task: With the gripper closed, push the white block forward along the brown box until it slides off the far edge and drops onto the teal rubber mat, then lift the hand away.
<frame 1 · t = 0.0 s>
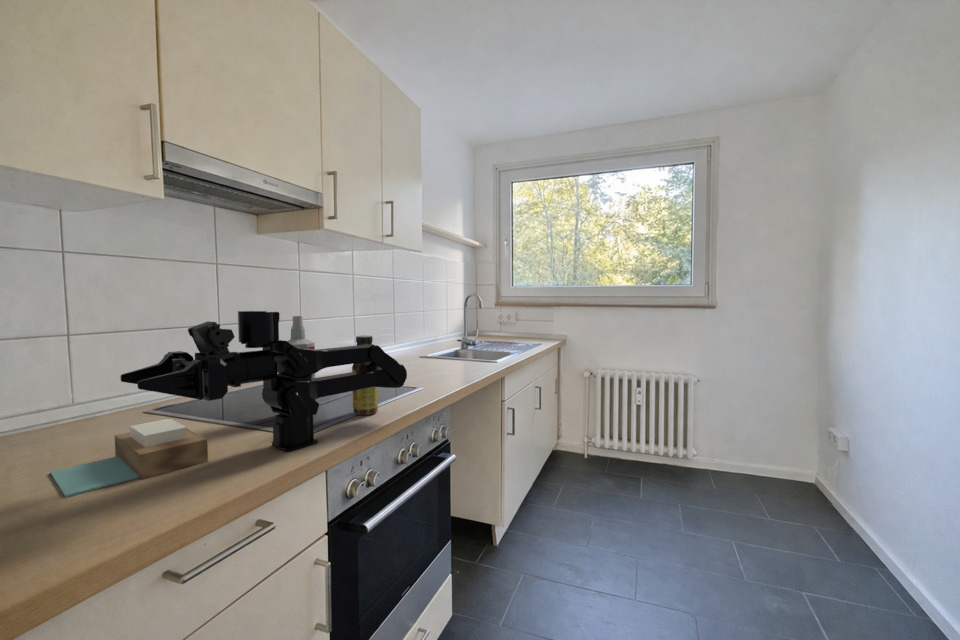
hand: (128, 381, 62), 17 cm above the worktop, tool horizontal, fingers open, 9 cm apart
spray bottle: (299, 415, 104), on the worktop
sauce bottle: (365, 413, 106), on the worktop
white block: (158, 437, 74), point 4 cm above the worktop, touching brown box
mat: (96, 475, 68), on the worktop
brown box: (161, 458, 75), on the worktop
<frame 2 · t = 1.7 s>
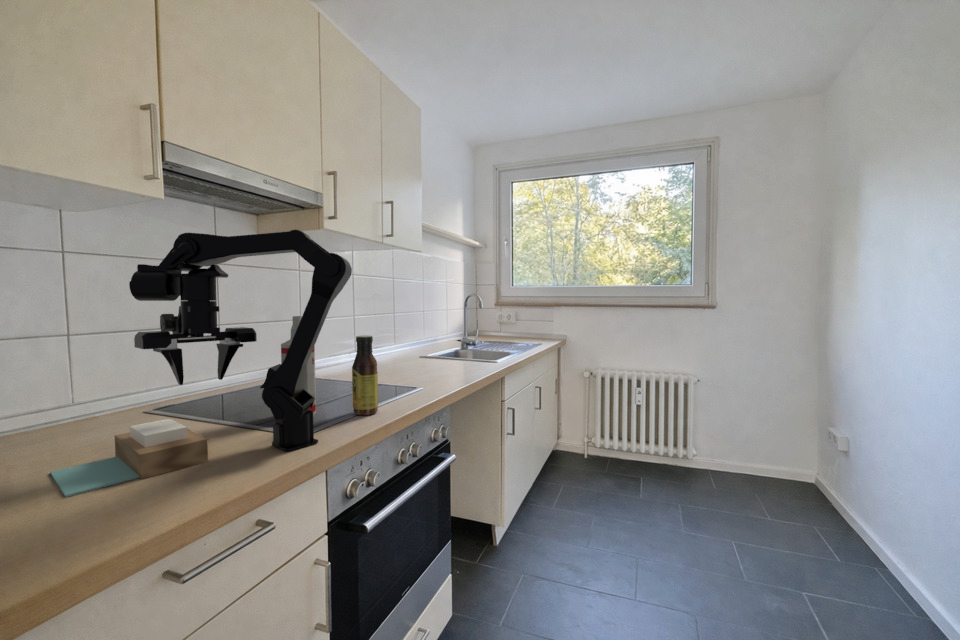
hand: (201, 381, 80), 13 cm above the worktop, tool pointing down, fingers open, 6 cm apart
nothing on the worktop moved.
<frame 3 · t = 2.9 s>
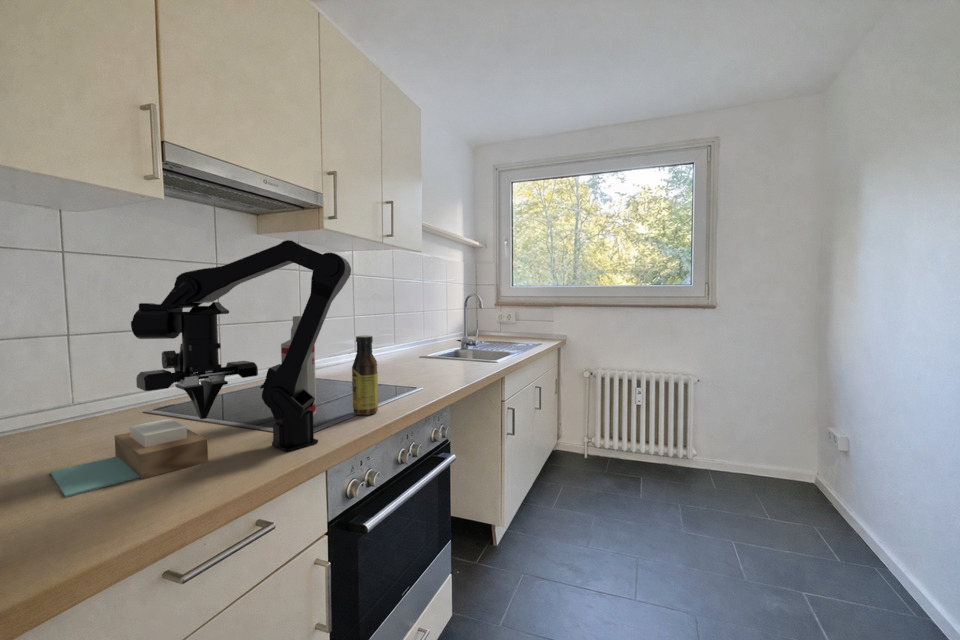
hand: (203, 418, 80), 6 cm above the worktop, tool pointing down, fingers closed
nothing on the worktop moved.
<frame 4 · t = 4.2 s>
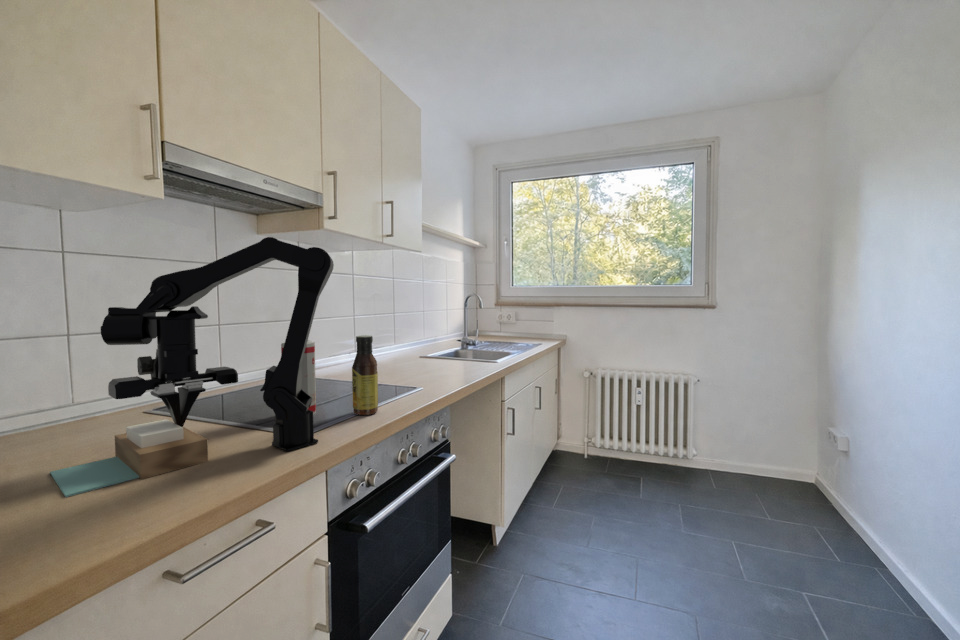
hand: (179, 427, 77), 5 cm above the worktop, tool pointing down, fingers closed
white block: (155, 438, 74), point 4 cm above the worktop, touching gripper
everything else where it was.
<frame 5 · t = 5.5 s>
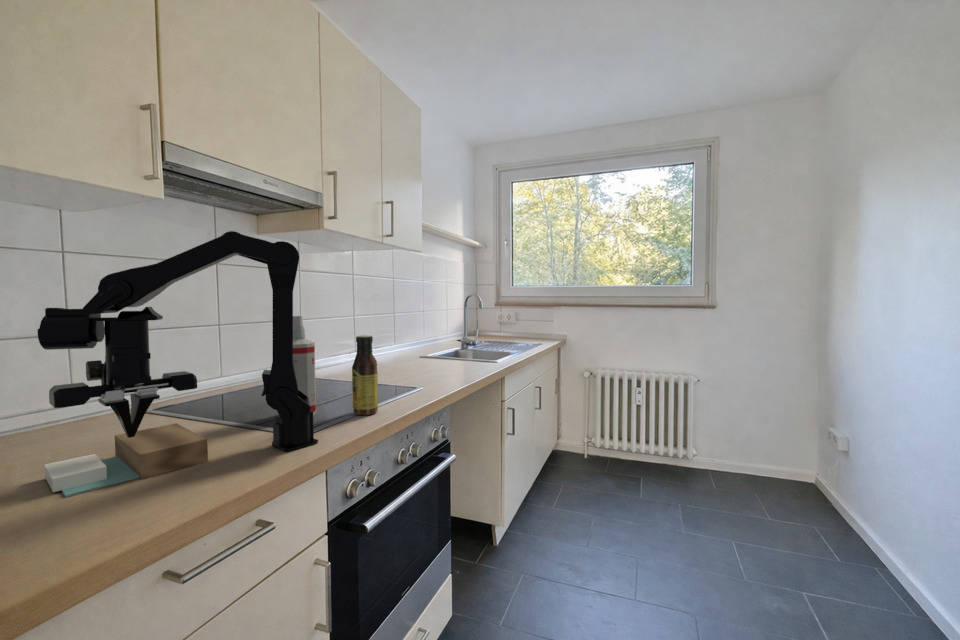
hand: (130, 436, 71), 5 cm above the worktop, tool pointing down, fingers closed
white block: (75, 465, 66), point 2 cm above the worktop, tilted 180°, touching mat
everything else where it was.
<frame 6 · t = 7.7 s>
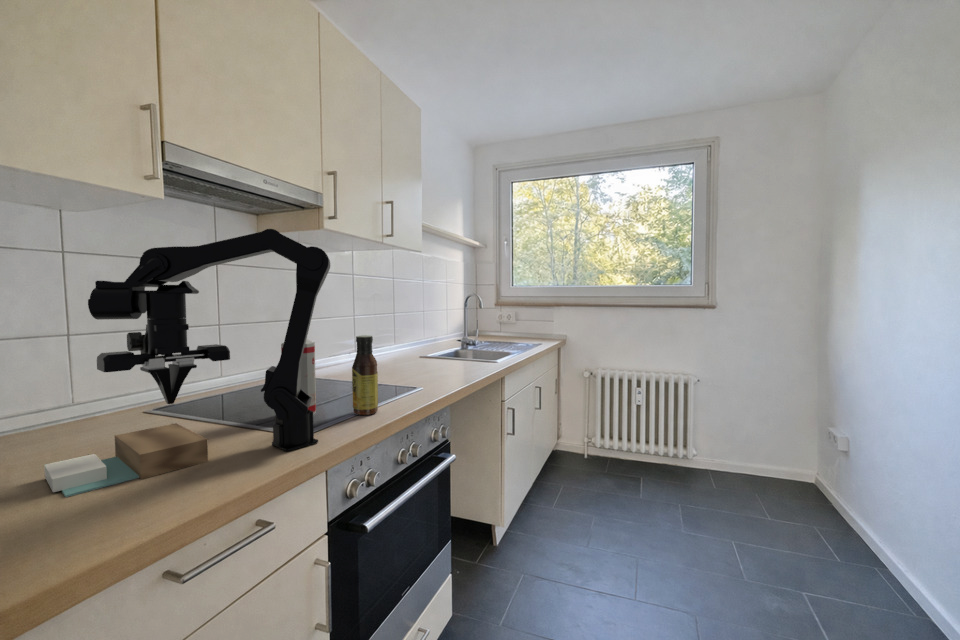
hand: (170, 403, 76), 10 cm above the worktop, tool pointing down, fingers closed
nothing on the worktop moved.
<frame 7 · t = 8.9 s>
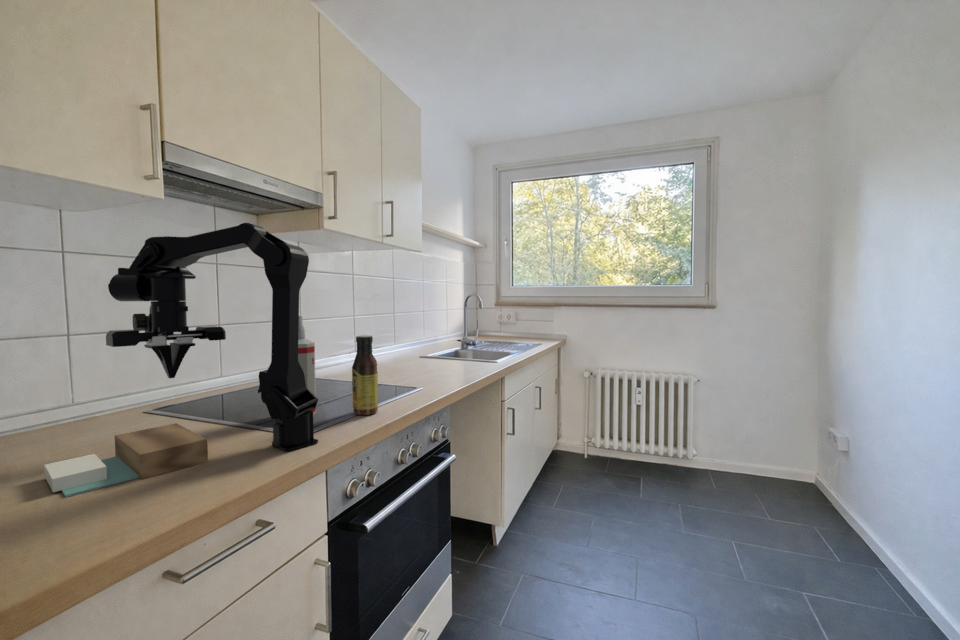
hand: (171, 377, 84), 13 cm above the worktop, tool pointing down, fingers closed
nothing on the worktop moved.
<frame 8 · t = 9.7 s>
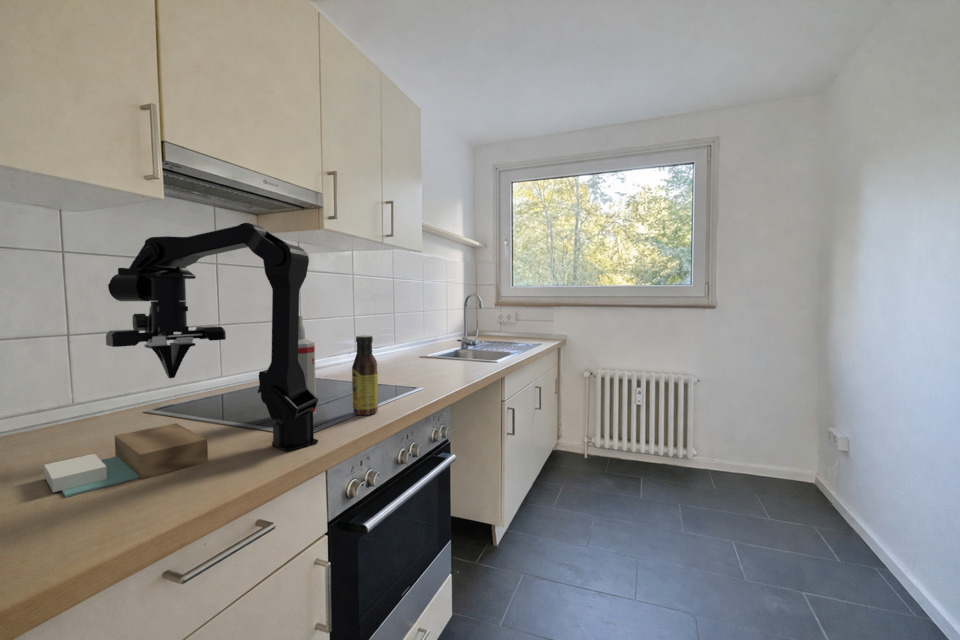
hand: (171, 378, 84), 13 cm above the worktop, tool pointing down, fingers closed
nothing on the worktop moved.
at the end: white block point 2.3 cm above the worktop; white block inside the target area on the mat (2.4 cm from its centre), point 2.3 cm above the mat's base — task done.
